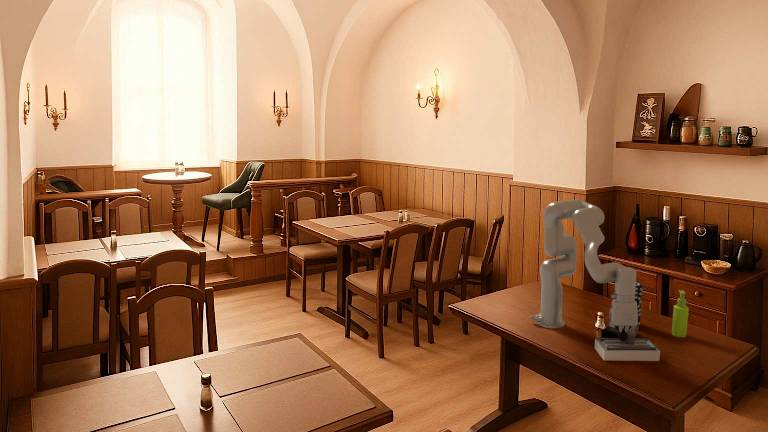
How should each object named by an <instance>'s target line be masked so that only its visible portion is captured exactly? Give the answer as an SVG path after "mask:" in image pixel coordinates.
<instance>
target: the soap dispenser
mask: <svg viewBox="0 0 768 432" xmlns="http://www.w3.org/2000/svg"><path fill="white" fill-rule="evenodd" d="M678 292H679V298H677V303H676V304H675V305H673V313H672V322H671V323H672V324H671V335H672V336H673V337H677V338H686V337H687V331H688V321H689V320H688V319H689V312H690V311H689V309H690V308H689V306H687V305H686V304H687V299H686V298H685V295H686V291H685V290H680V289H679V290H678Z"/></svg>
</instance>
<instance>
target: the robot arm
mask: <svg viewBox="0 0 768 432" xmlns="http://www.w3.org/2000/svg"><path fill="white" fill-rule="evenodd" d="M563 220H572V222H573V224H574V226H575V229H576V230H577V231H578V234H579V236H580V237H581V240H582V242H583V243H584V247H585V248H584V254H583V257H584V264H585V267H586V269H587V271H588V273H589V275H590V277H591V278H592V280H594V282H596V283H598V284H606V283H610V282H615V283H614V284H615V285H614V293H613V294H611V295H610V297H611V298H612V301H611V306H610V309H609V317H608V318H609V323H608V325H609V326H610V327H614V328H616V329H617V330H618V335H617V338H618V339H619V340H620V341H624V342H625V339H626V336H627V332H628V330H629V329H631V328H633V327H636V326H637V323H638V309H637V302H636V301H635V286H636V282H637V271H636V269H635V268H633V267H629V266H624V265H623V264H621V263H619V262H617V261H616V262H609V263H602V262H601V261H600V259H599V256H598V249H599V247H600V245H601V244H602V243H603V242H605V236H604V234H603V232H602V230H601V228H600V225H602V224H603V223H604V221H605V213H604V211H603V210H602V208H600V207H598V206H597V205H594V204H591V203H589V202H586V201H583V200H581V199H569V200H567V199H566V200H558V201H554V202H551V203H549V204H548V205H547V206H546V207H545V208H544V211H543V221H544V234H543V236H544V237H543V250H544V254H545V255H547V256H548V257H550V259H545V260H544V261H543V262H542V263H541V264H540V267H539V274H540V281H541V288H540V289H541V291H540V294H541V295H540V312H538V314H536V315H533V314H531V315H529V318H530V320H533V321H535V322H536V325H538V326H539V327H542V328H545V329H551V330H552V329H562V328H563V327H564V326H565V321H564V320H563V319H562V314H563V313H562V312H563V310H562V309H563V285H562V283H561V281H560V279H563V278H567V277H572V276H573V275H574V274H575V272H576V270H577V260H578V259H577V257H578V256H577V255H578V243H577V241H576V239H575V237H574V236H573V235H571V234H570V233H569V234H567V233H564V232H565V231H564V228H565V227H564V224H563V222H562V221H563ZM551 257H553V258H551ZM622 326H623V329H622Z"/></svg>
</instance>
